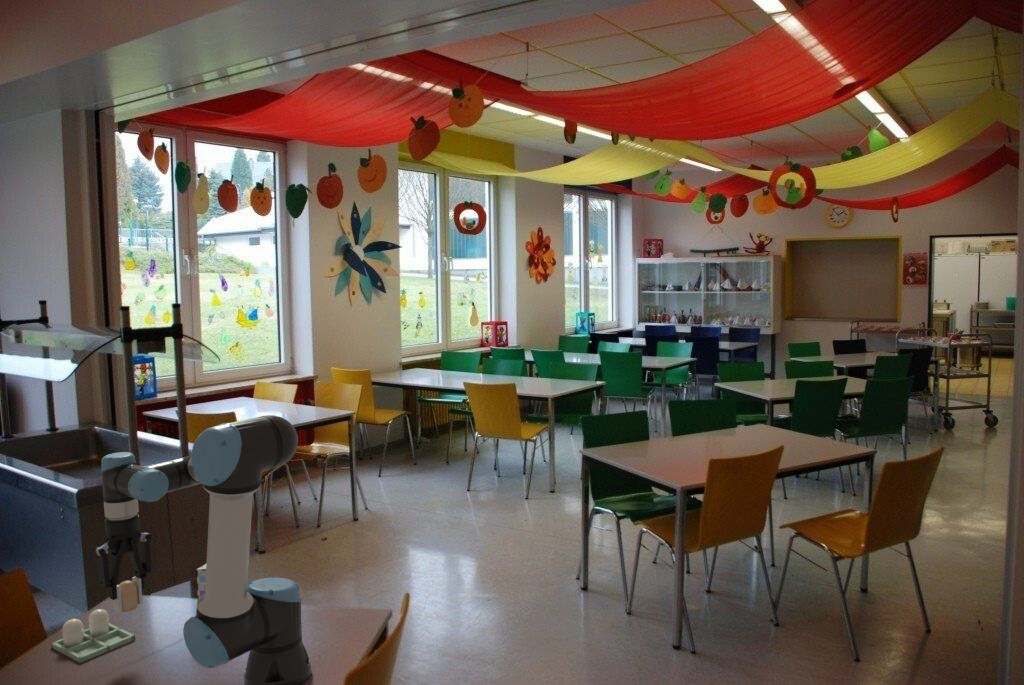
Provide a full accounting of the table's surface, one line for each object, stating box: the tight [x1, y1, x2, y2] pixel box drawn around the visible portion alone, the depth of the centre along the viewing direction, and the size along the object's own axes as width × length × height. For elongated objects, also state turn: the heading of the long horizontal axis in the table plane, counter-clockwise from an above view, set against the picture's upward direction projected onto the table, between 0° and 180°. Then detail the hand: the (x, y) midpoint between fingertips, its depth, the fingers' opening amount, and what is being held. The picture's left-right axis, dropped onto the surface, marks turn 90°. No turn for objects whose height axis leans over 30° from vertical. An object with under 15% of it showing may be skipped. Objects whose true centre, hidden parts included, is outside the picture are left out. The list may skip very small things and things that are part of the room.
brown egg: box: [118, 579, 139, 613], centre depth 194 cm, size 5×5×7 cm
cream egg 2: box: [88, 608, 110, 638], centre depth 204 cm, size 5×5×7 cm
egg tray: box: [50, 622, 136, 664], centre depth 199 cm, size 14×14×2 cm
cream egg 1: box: [61, 618, 84, 649], centre depth 198 cm, size 5×5×7 cm
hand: (128, 606), depth 194 cm, fingers closed on brown egg, 4 cm apart
